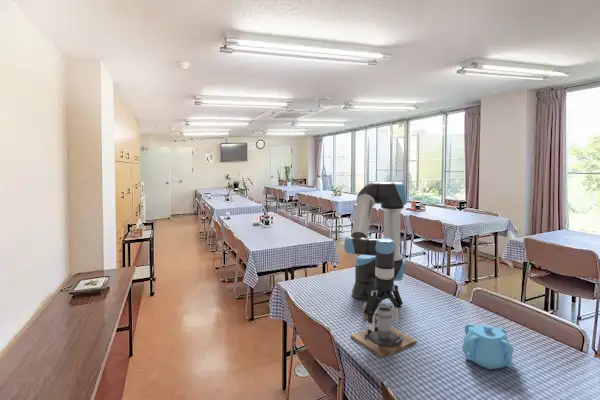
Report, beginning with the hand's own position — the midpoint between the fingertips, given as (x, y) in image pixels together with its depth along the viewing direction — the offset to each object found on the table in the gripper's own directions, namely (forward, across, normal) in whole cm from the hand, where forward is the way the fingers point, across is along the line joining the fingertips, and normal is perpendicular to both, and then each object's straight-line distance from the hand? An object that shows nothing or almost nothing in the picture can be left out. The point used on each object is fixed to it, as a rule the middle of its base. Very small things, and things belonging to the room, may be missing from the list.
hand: (383, 325), depth 138 cm
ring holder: (+6, 0, 0) cm, 6 cm away
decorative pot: (+7, -22, +31) cm, 39 cm away
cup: (+5, 0, 0) cm, 5 cm away
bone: (+7, -9, -16) cm, 20 cm away
